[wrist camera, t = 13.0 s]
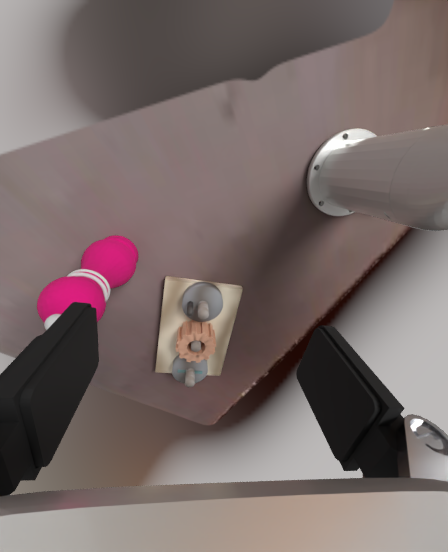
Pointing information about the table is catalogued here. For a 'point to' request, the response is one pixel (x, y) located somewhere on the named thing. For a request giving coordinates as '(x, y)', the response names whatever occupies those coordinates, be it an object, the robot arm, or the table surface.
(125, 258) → the pepper mill
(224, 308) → the board
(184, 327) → the gear
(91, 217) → the table surface
